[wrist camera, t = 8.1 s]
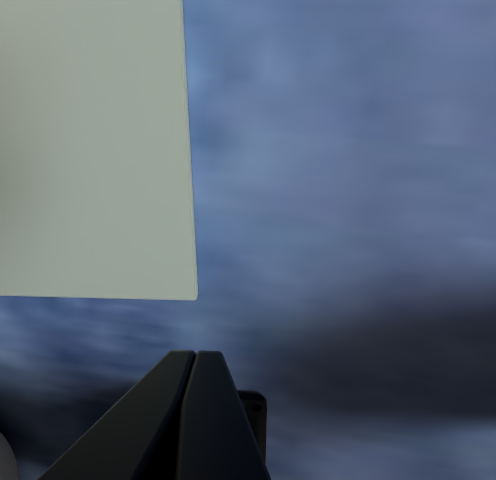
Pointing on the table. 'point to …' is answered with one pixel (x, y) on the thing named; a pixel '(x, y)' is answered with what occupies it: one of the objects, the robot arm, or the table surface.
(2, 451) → the dark grey egg shape
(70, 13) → the sage mat
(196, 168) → the table surface
